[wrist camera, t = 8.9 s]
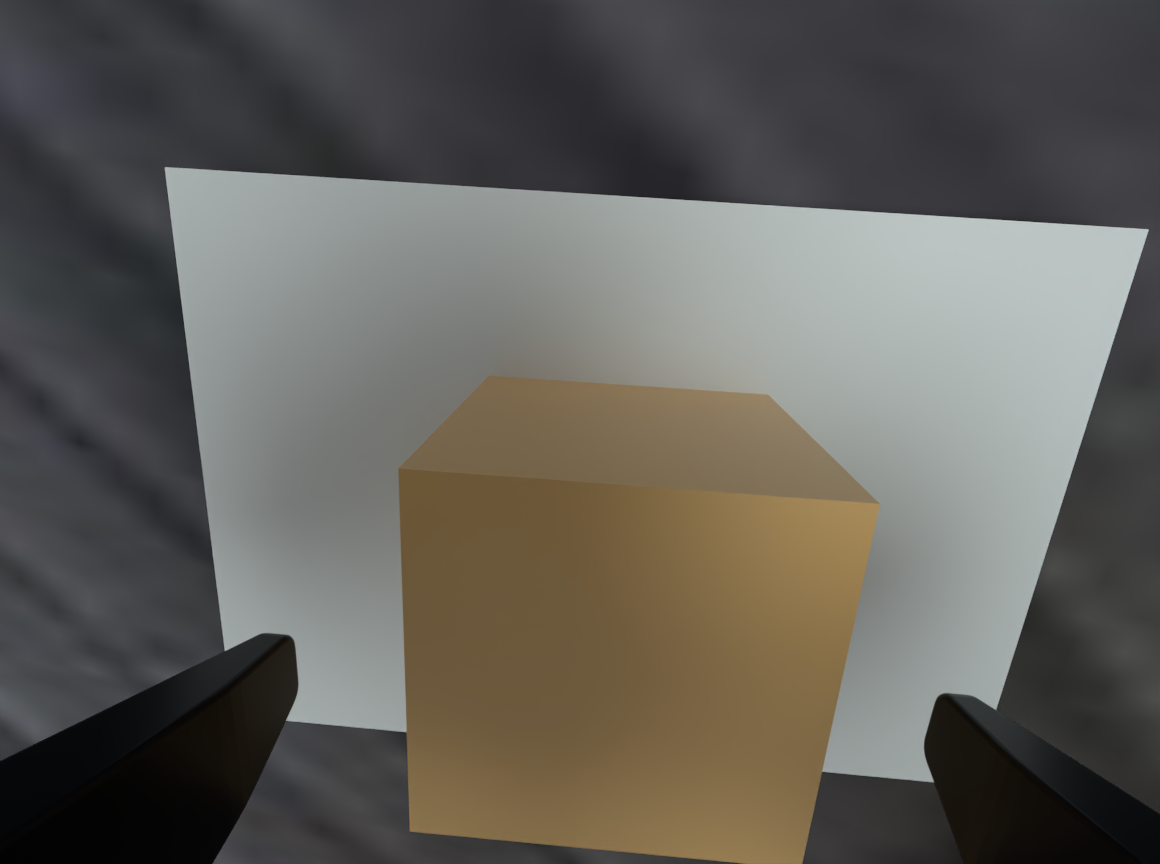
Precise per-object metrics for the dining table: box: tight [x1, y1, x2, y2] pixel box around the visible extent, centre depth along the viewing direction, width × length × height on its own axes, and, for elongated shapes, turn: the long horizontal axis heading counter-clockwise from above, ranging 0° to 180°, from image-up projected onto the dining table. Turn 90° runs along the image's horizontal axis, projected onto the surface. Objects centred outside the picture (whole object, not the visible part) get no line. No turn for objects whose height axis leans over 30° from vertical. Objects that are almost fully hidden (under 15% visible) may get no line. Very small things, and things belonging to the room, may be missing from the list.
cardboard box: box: [398, 376, 880, 864], centre depth 12 cm, size 6×6×6 cm
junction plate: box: [165, 167, 1149, 782], centre depth 13 cm, size 14×20×6 cm
